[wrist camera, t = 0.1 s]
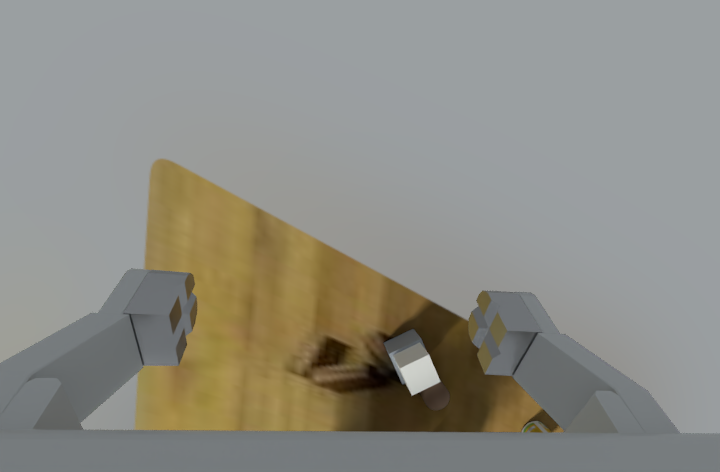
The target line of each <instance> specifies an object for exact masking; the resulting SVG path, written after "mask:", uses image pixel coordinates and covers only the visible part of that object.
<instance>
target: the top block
mask: <svg viewBox="0 0 720 472" xmlns="http://www.w3.org/2000/svg"><path fill="white" fill-rule="evenodd" d="M393 356H394V359H395V361H396V363H397V365H398V368H399V370H400V372H401V374H402V377H403V379H404V381H405V383H406V385H407V387H408V389H409V391H410V393H411V395H412V396H413V395H415V394H417V393H419V392H421V391H423V390H425V389H427V388H429V387H431V386H433V385H435V384H437V383H439V382H441V381H440V379H439V377H438V374H437V372H436V370H435V367H434V365H433V363H432V360H431V358H430V356H429V354H428V353H427V351H426V350H425V349H424V347H423V346H422V345H421V343H420V342H419V343H417V344H415V345H413V346H411V347H409V348H407V349H405V350H403V351H401V352H398V353H396V354H394V355H393Z"/></svg>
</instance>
